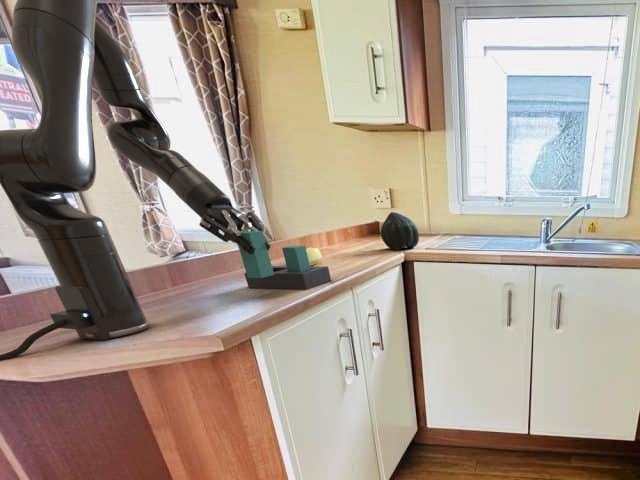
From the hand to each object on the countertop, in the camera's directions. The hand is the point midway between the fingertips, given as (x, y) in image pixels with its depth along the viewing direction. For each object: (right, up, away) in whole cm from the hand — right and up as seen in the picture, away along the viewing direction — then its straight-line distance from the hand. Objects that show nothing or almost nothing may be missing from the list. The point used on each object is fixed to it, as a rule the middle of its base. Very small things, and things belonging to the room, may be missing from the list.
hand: (260, 249), depth 97 cm
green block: (-2, -5, +3) cm, 6 cm away
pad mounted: (+1, -4, +18) cm, 18 cm away
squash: (+12, +26, +80) cm, 84 cm away
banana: (-15, +10, +48) cm, 51 cm away
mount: (-3, -4, +19) cm, 19 cm away
